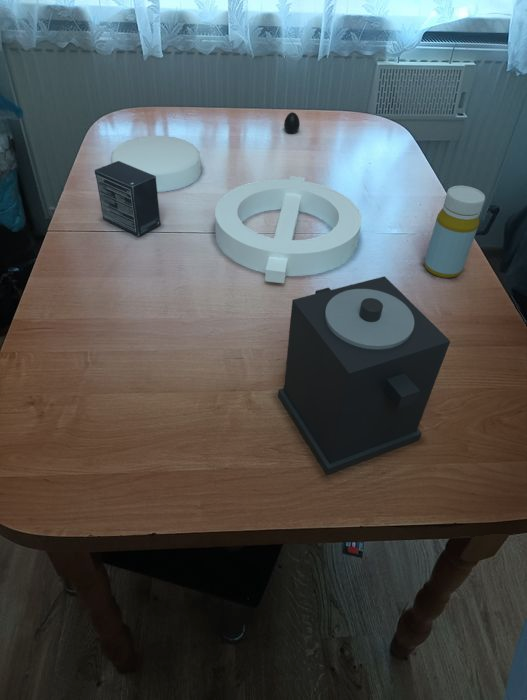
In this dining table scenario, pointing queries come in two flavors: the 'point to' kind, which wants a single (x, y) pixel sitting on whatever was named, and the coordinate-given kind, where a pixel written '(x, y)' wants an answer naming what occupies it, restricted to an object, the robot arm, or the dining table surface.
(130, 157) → the white round disc
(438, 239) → the bottle
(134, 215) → the small box
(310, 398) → the kettle
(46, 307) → the dining table surface
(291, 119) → the egg
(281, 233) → the white circle with bar
